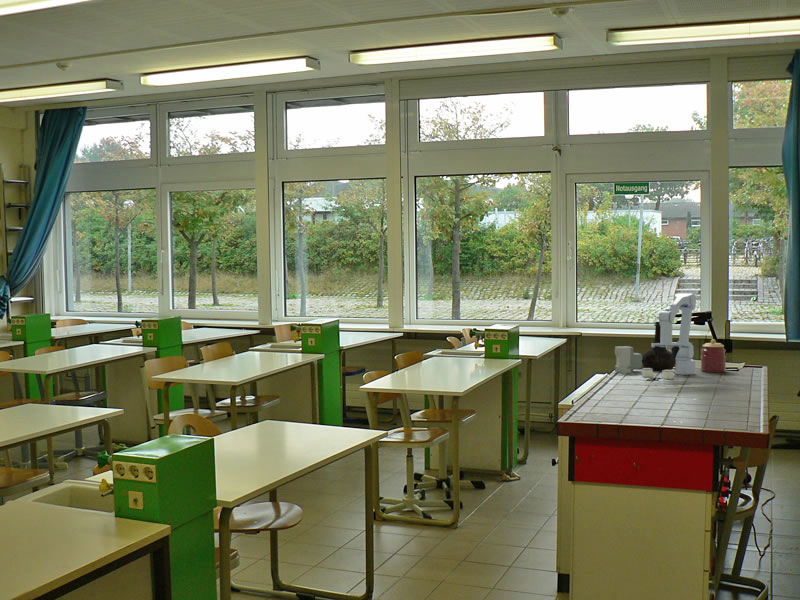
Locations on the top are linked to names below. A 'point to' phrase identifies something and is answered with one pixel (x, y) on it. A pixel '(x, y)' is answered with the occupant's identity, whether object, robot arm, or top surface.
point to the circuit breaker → (627, 359)
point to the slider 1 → (647, 372)
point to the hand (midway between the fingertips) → (665, 361)
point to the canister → (713, 357)
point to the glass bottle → (665, 355)
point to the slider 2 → (667, 374)
